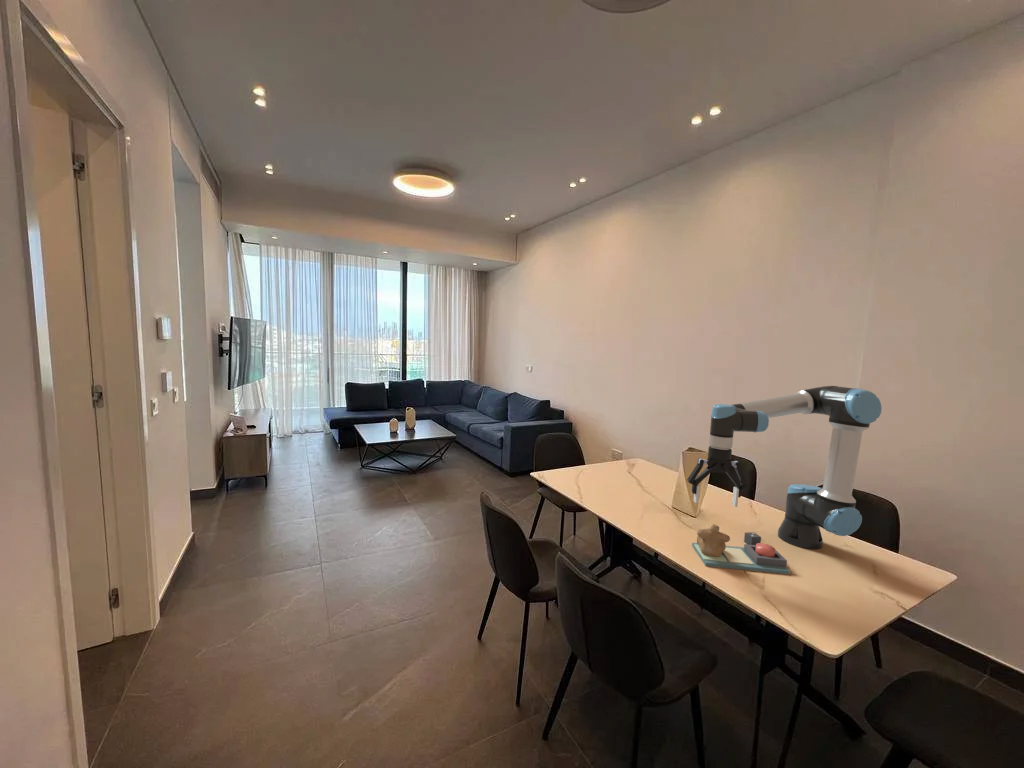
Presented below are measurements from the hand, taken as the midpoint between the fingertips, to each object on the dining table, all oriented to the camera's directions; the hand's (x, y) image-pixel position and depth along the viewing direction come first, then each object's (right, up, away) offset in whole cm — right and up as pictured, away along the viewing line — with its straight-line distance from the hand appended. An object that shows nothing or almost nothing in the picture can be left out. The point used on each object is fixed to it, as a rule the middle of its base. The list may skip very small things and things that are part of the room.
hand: (715, 503), depth 150 cm
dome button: (+18, -20, 0) cm, 26 cm away
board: (+9, -21, +1) cm, 22 cm away
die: (+21, -20, +13) cm, 32 cm away
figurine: (0, -19, +2) cm, 19 cm away
